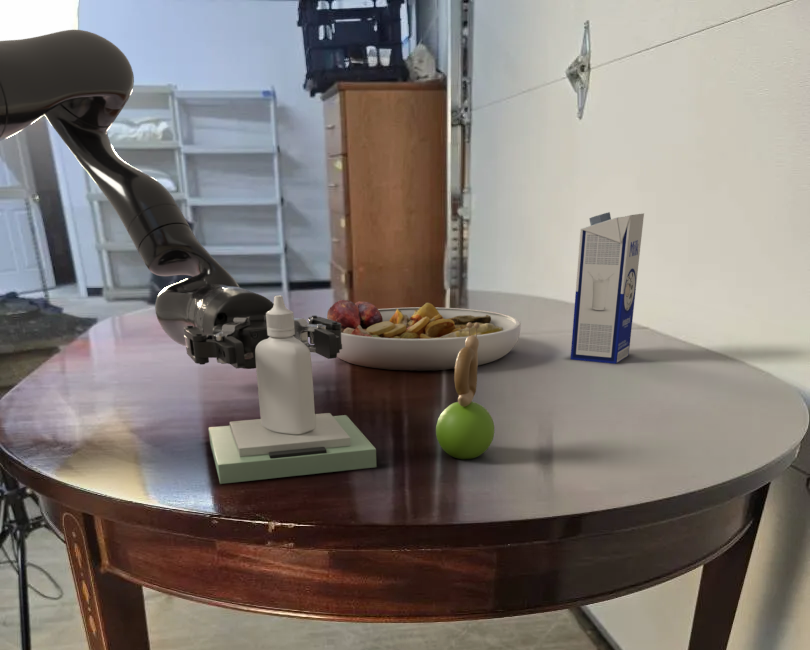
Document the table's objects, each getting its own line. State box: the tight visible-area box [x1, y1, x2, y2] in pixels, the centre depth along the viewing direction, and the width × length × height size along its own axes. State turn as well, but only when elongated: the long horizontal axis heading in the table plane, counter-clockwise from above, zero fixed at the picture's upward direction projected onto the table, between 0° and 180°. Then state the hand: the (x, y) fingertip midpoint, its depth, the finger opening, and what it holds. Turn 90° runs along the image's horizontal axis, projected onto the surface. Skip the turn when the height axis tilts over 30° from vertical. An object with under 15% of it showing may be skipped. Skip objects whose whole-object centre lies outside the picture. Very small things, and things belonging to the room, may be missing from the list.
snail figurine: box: [435, 322, 495, 460], centre depth 71 cm, size 5×6×12 cm
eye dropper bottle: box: [255, 295, 316, 435], centre depth 70 cm, size 4×6×12 cm
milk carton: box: [570, 211, 645, 365], centre depth 110 cm, size 7×7×20 cm
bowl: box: [326, 299, 522, 372], centre depth 117 cm, size 30×30×8 cm
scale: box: [208, 412, 377, 485], centre depth 73 cm, size 14×12×3 cm
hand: (288, 351), depth 68 cm, fingers open, 8 cm apart
